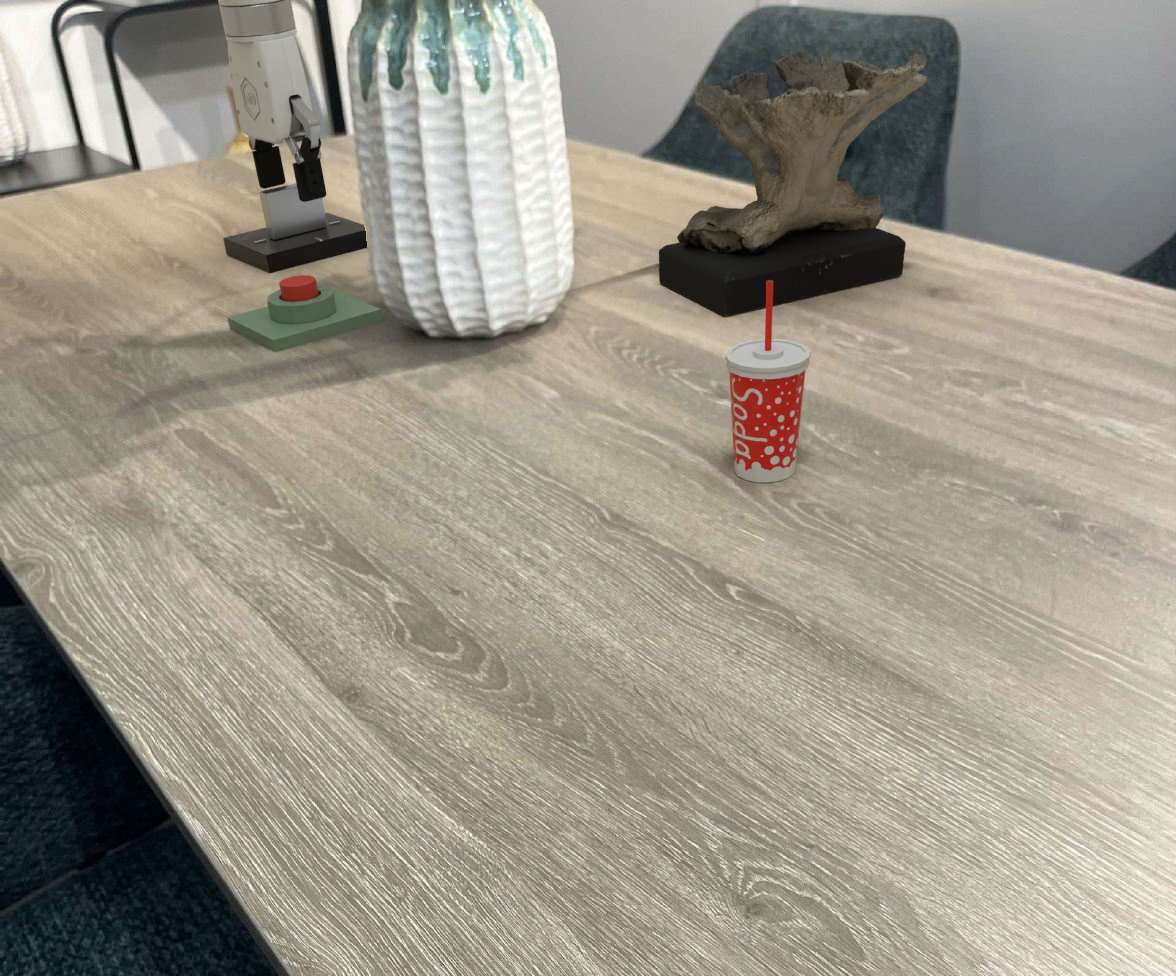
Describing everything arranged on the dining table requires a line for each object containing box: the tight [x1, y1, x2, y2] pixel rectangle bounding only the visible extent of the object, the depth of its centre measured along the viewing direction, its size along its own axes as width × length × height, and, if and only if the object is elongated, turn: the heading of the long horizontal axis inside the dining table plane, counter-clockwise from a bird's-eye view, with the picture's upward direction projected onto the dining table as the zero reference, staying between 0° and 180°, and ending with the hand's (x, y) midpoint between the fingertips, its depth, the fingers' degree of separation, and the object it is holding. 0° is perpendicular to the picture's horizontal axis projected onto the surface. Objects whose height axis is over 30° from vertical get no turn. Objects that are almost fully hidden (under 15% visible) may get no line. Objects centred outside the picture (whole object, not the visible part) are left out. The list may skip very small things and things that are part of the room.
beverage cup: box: [724, 280, 812, 484], centre depth 93 cm, size 6×6×14 cm
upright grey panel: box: [258, 182, 327, 240], centre depth 148 cm, size 7×2×5 cm, turn 129°
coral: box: [658, 49, 928, 317], centre depth 126 cm, size 25×20×21 cm
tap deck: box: [222, 212, 368, 274], centre depth 150 cm, size 14×11×3 cm
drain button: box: [278, 274, 319, 302], centre depth 126 cm, size 4×4×2 cm
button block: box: [227, 284, 383, 353], centre depth 128 cm, size 12×10×4 cm
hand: (292, 192), depth 147 cm, fingers open, 9 cm apart
